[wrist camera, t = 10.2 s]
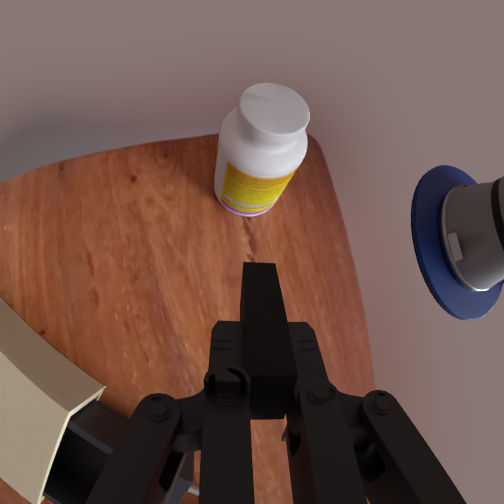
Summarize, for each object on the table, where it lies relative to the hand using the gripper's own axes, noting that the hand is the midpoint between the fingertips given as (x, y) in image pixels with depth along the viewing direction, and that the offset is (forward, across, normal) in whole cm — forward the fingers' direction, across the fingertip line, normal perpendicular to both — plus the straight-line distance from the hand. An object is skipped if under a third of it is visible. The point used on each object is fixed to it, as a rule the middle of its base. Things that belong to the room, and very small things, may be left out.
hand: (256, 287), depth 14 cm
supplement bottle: (+17, 0, 0) cm, 17 cm away
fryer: (+1, +23, +16) cm, 28 cm away
